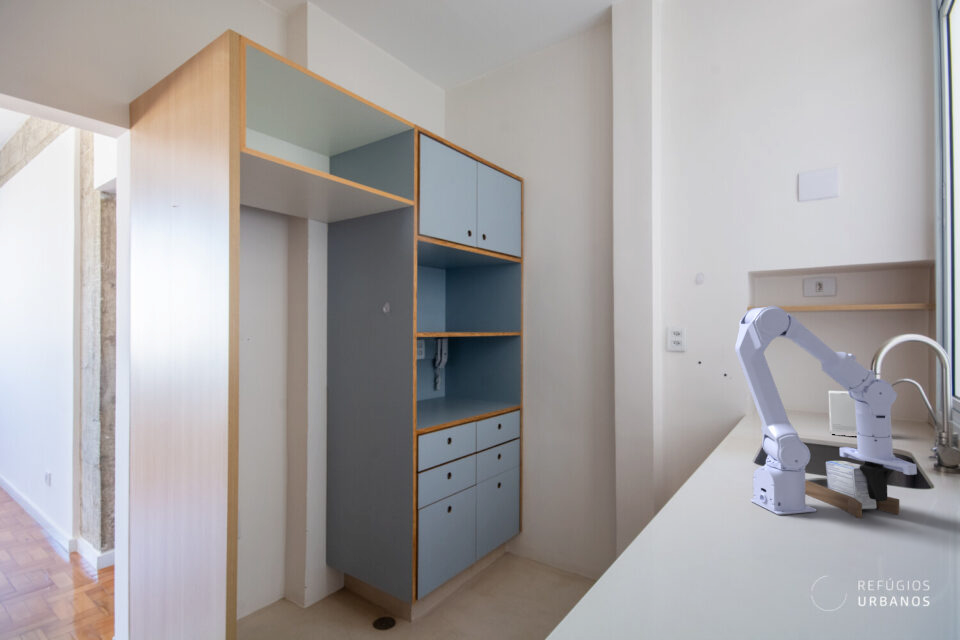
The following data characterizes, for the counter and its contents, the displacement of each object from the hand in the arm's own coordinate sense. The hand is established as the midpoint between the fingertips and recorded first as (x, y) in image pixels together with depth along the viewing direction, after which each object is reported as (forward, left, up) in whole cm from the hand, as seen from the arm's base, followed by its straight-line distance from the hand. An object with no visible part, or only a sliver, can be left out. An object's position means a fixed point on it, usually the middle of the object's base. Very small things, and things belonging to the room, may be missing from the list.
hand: (877, 499), depth 98 cm
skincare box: (+59, +60, -3) cm, 84 cm away
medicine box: (-1, +5, -3) cm, 6 cm away
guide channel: (-1, +6, -3) cm, 7 cm away
